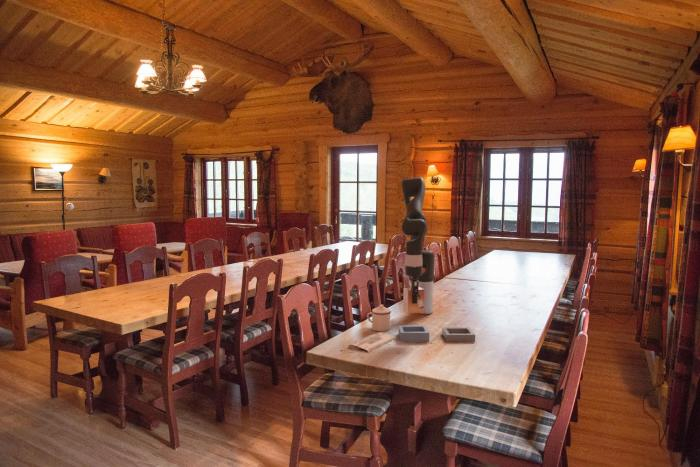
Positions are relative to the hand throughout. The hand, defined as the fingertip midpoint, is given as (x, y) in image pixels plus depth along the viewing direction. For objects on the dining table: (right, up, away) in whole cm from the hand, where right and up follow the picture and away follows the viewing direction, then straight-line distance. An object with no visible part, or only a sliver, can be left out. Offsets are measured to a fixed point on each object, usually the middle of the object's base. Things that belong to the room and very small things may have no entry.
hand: (413, 301), depth 210 cm
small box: (0, -5, 0) cm, 5 cm away
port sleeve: (0, -17, +2) cm, 17 cm away
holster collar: (+20, -16, +1) cm, 26 cm away
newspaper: (-19, -18, -4) cm, 27 cm away
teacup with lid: (-15, -15, +16) cm, 27 cm away
